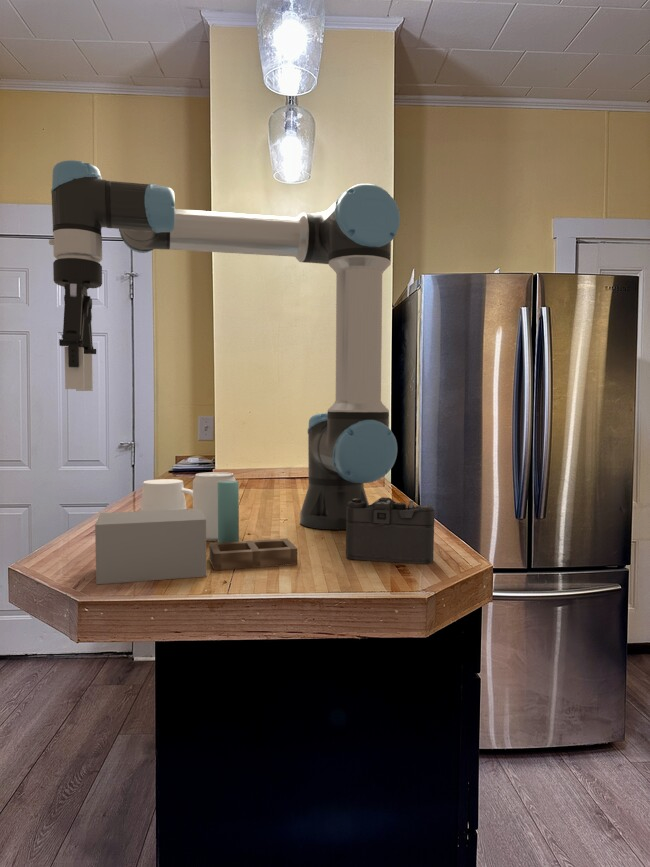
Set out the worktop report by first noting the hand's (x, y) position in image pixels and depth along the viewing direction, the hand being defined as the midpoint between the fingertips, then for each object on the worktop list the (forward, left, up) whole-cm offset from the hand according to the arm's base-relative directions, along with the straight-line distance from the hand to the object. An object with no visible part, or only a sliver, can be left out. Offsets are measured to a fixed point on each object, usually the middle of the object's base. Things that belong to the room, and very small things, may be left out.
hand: (80, 390), depth 104 cm
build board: (-27, +13, -28) cm, 41 cm away
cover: (-11, +15, -28) cm, 33 cm away
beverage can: (-23, -7, -28) cm, 37 cm away
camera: (-50, +15, -28) cm, 59 cm away
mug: (-15, -20, -28) cm, 37 cm away
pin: (-24, +6, -28) cm, 37 cm away
